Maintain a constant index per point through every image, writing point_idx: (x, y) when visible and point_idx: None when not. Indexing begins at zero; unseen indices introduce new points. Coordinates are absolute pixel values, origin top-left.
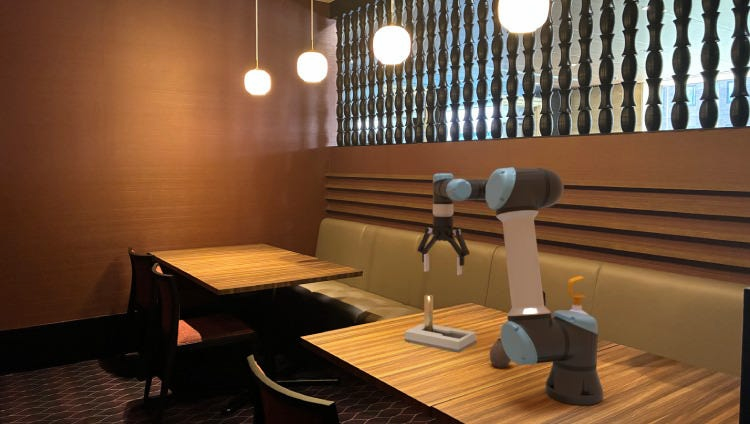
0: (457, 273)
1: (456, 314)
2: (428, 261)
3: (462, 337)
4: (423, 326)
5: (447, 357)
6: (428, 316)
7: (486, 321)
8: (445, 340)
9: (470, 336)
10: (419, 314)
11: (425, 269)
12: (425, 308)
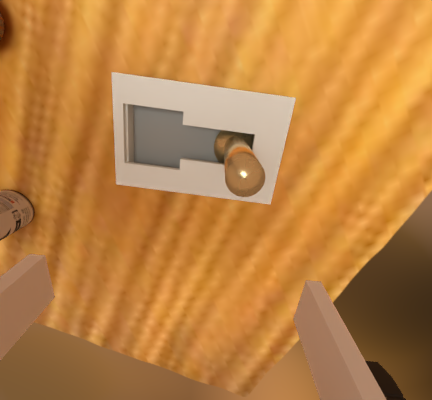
0: (32, 261)
1: (245, 336)
2: (323, 386)
3: (122, 120)
4: None
5: (129, 16)
6: (234, 144)
7: (174, 317)
8: (155, 78)
9: (115, 149)
10: None
11: (314, 293)
12: (248, 149)
